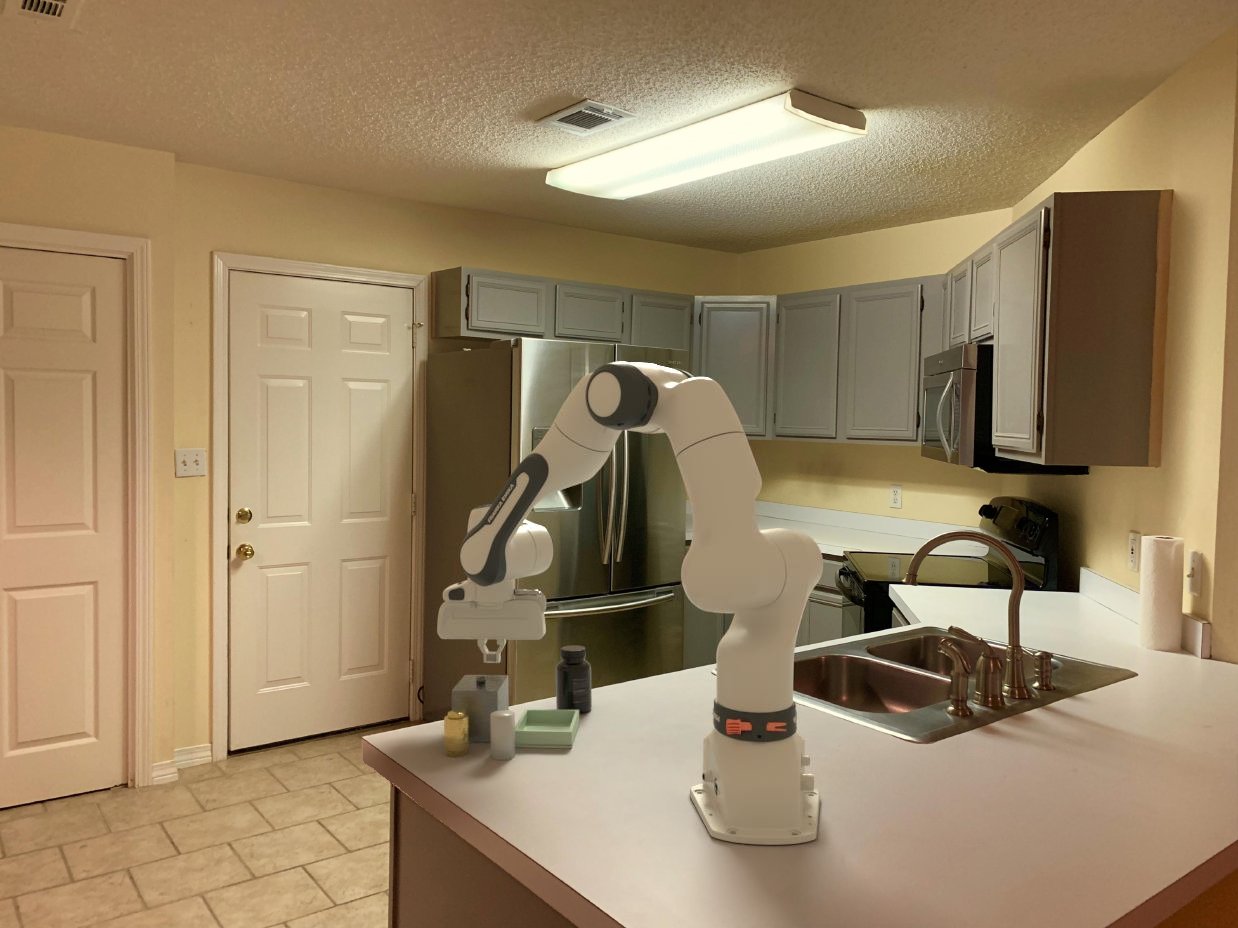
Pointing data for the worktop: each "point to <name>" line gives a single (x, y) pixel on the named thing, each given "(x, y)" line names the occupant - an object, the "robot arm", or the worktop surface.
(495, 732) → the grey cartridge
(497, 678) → the box
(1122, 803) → the worktop surface
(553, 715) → the tray
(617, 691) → the worktop surface
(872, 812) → the worktop surface
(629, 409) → the robot arm
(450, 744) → the brass fitting
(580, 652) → the supplement bottle
